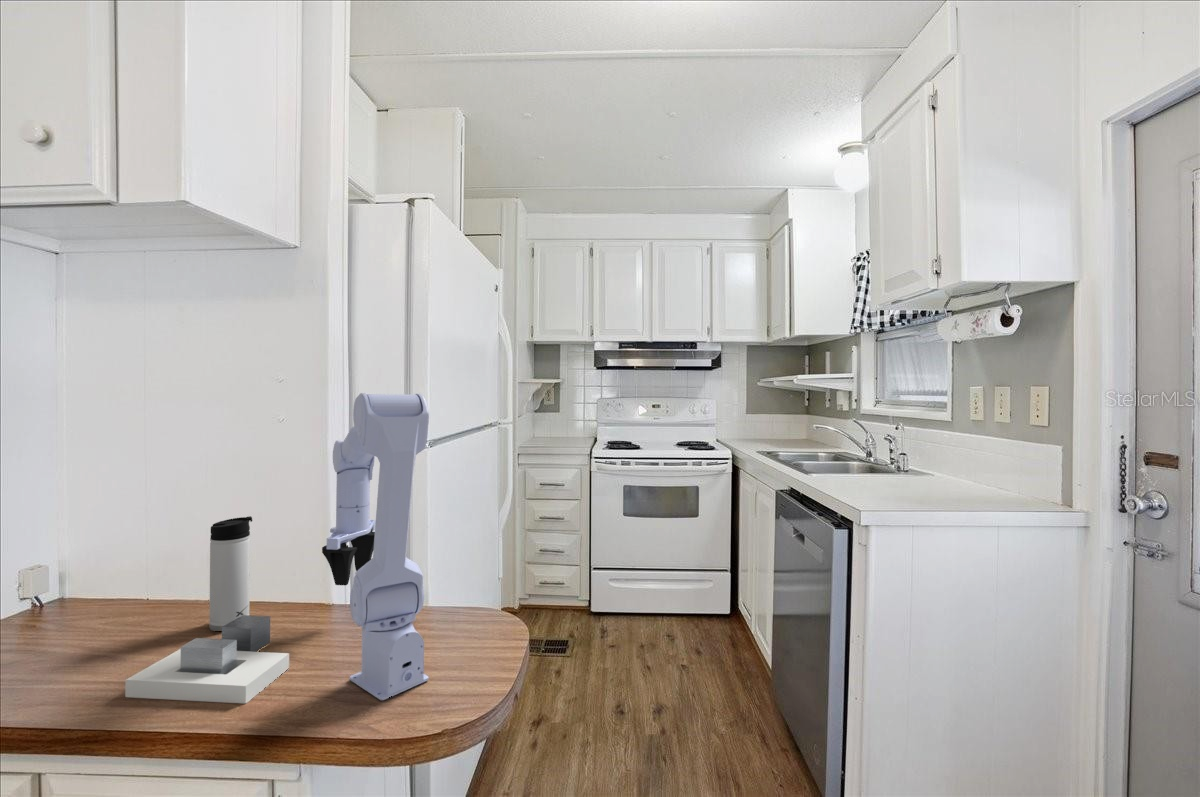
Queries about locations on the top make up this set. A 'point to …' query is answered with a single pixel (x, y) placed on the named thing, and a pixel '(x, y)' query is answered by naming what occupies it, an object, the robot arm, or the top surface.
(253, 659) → the slot board
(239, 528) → the travel mug
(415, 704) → the top surface
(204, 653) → the blocky grey bit
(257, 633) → the square bit
